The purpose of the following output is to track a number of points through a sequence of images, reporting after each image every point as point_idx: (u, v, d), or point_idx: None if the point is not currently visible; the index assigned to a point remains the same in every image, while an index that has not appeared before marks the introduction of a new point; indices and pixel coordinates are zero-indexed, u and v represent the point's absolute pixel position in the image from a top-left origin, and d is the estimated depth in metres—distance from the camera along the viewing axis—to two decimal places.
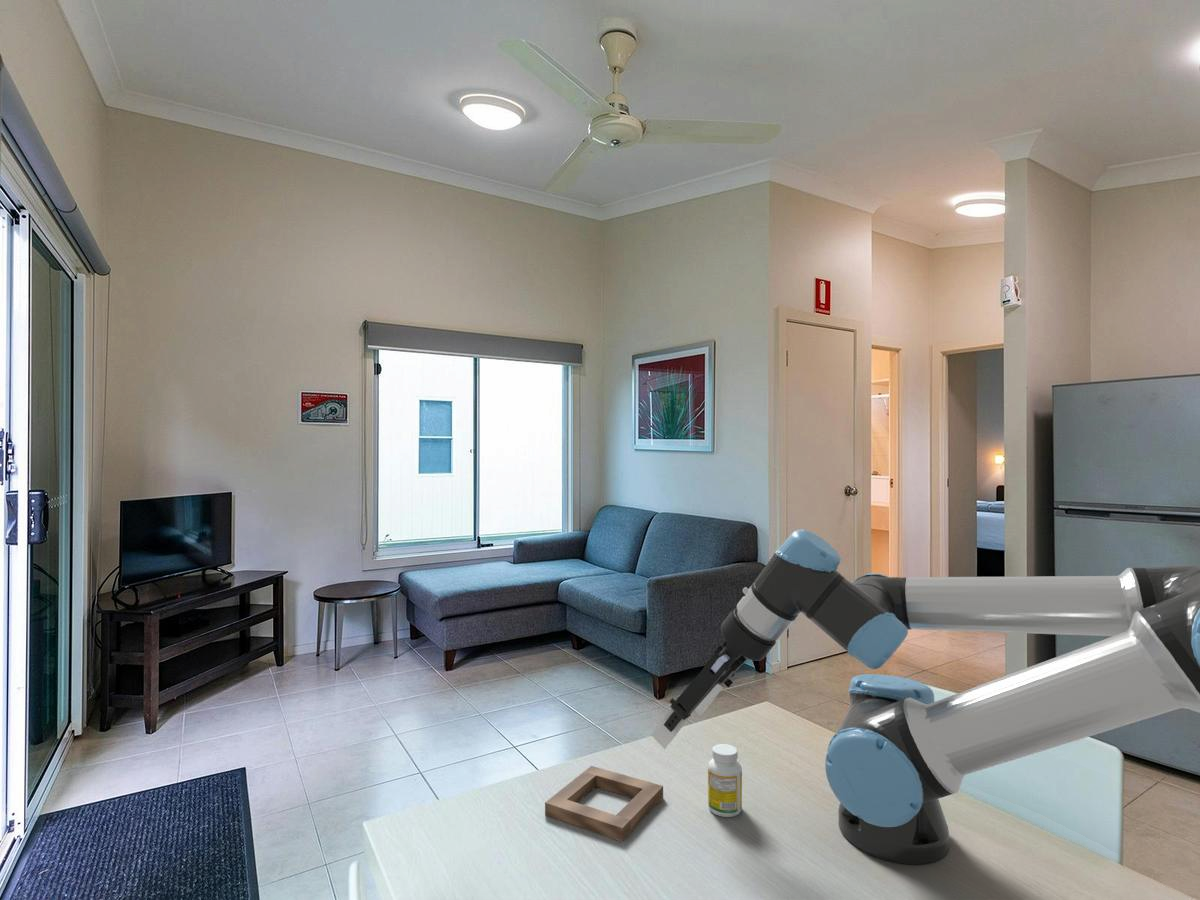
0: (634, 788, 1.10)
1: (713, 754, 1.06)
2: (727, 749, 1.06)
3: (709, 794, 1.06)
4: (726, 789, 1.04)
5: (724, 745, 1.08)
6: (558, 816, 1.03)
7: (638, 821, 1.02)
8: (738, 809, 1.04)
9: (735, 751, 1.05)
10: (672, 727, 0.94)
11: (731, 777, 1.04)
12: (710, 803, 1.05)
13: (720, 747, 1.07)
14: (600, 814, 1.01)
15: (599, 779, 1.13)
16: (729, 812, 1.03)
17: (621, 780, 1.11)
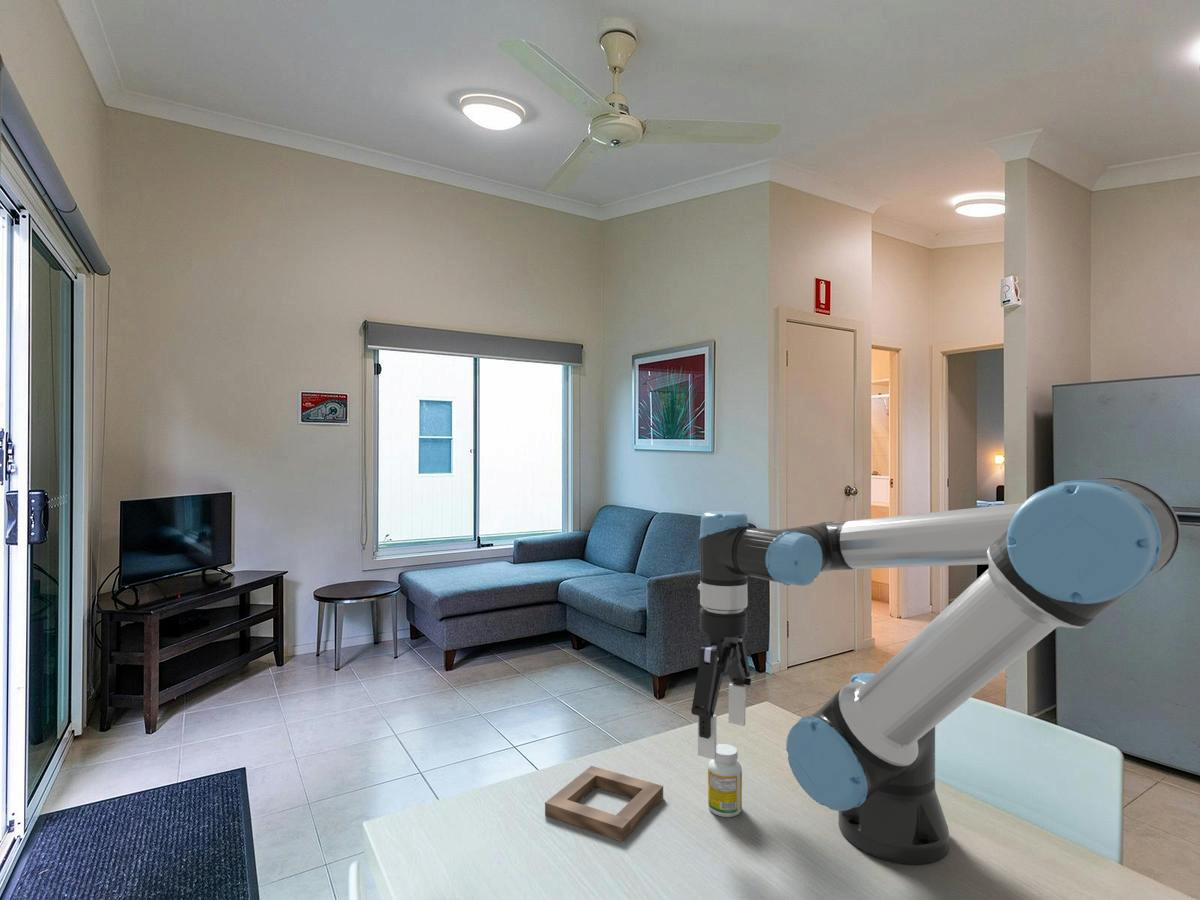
0: (634, 788, 1.10)
1: None
2: (727, 749, 1.06)
3: (709, 794, 1.06)
4: (726, 789, 1.04)
5: (724, 745, 1.08)
6: (558, 816, 1.03)
7: (638, 821, 1.02)
8: (738, 809, 1.04)
9: (735, 751, 1.05)
10: (706, 733, 0.99)
11: (731, 777, 1.04)
12: (710, 803, 1.05)
13: (720, 747, 1.07)
14: (600, 814, 1.01)
15: (599, 779, 1.13)
16: (729, 812, 1.03)
17: (621, 780, 1.11)
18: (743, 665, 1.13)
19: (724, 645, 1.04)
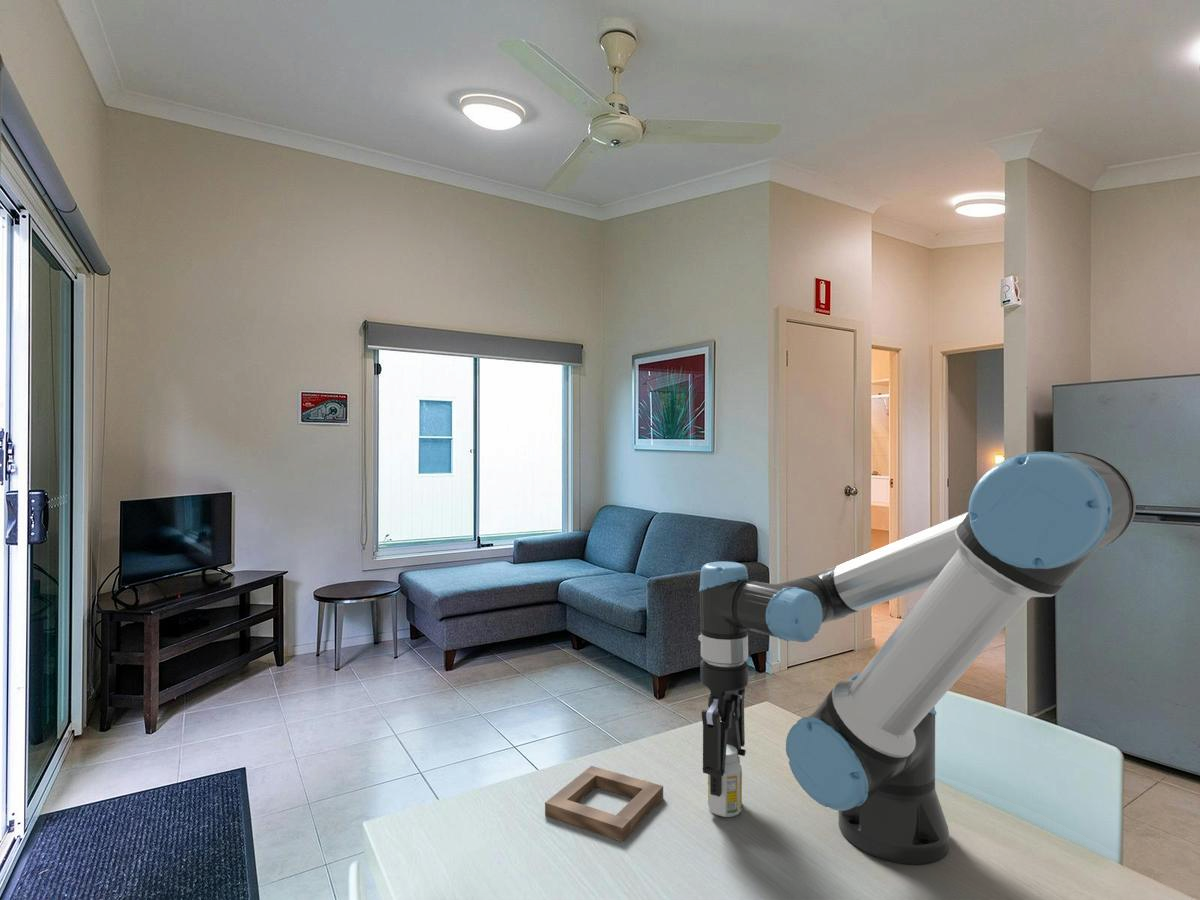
0: (634, 788, 1.10)
1: None
2: (727, 749, 1.06)
3: None
4: None
5: None
6: (558, 816, 1.03)
7: (638, 821, 1.02)
8: (738, 809, 1.04)
9: (735, 751, 1.05)
10: (717, 791, 1.02)
11: (731, 777, 1.04)
12: None
13: None
14: (600, 814, 1.01)
15: (599, 779, 1.13)
16: (729, 812, 1.03)
17: (621, 780, 1.11)
18: (739, 729, 1.10)
19: (724, 697, 1.03)
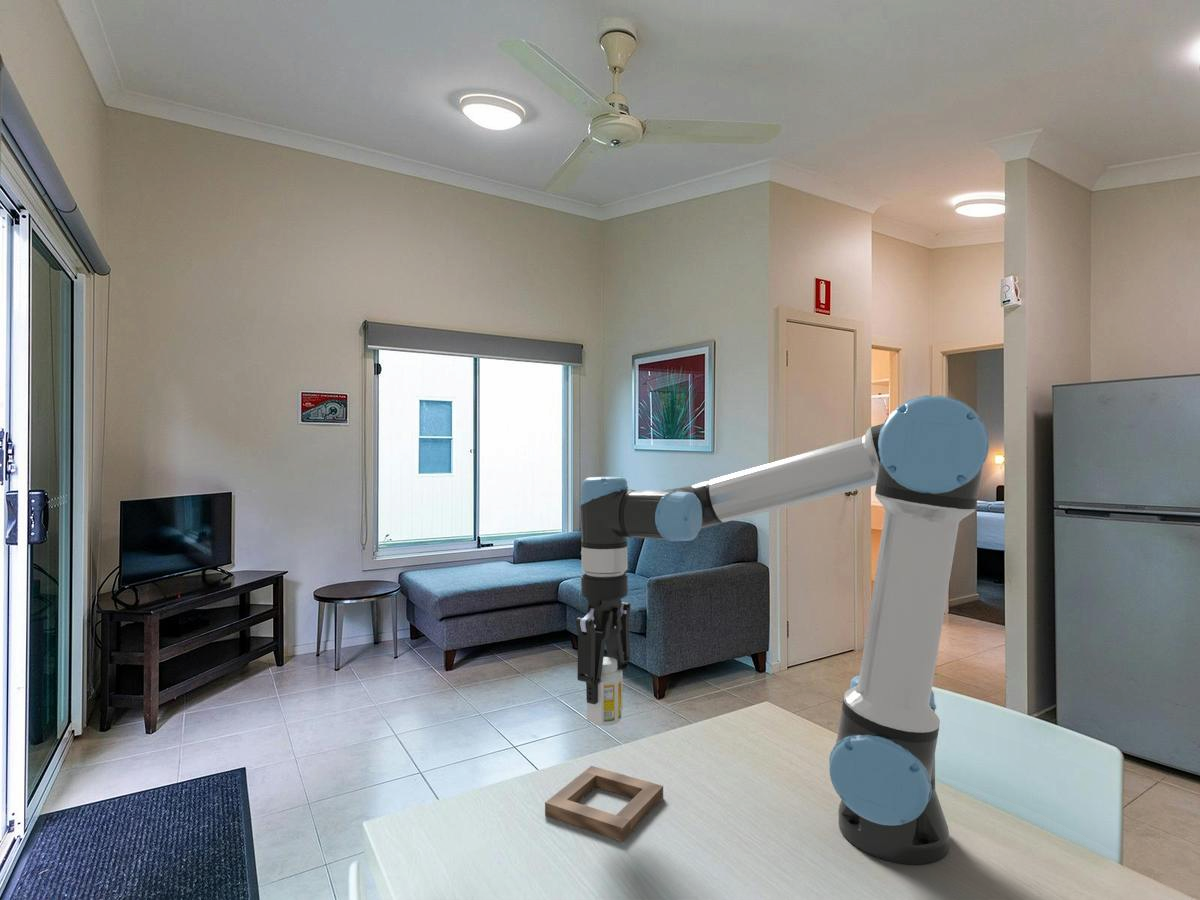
0: (634, 788, 1.10)
1: None
2: (607, 660, 1.07)
3: None
4: None
5: (606, 657, 1.09)
6: (558, 816, 1.03)
7: (638, 821, 1.02)
8: (616, 718, 1.05)
9: (614, 662, 1.06)
10: (593, 699, 1.03)
11: (608, 686, 1.05)
12: None
13: None
14: (600, 814, 1.01)
15: (599, 779, 1.13)
16: (606, 720, 1.04)
17: (621, 780, 1.11)
18: (623, 644, 1.11)
19: (601, 607, 1.04)
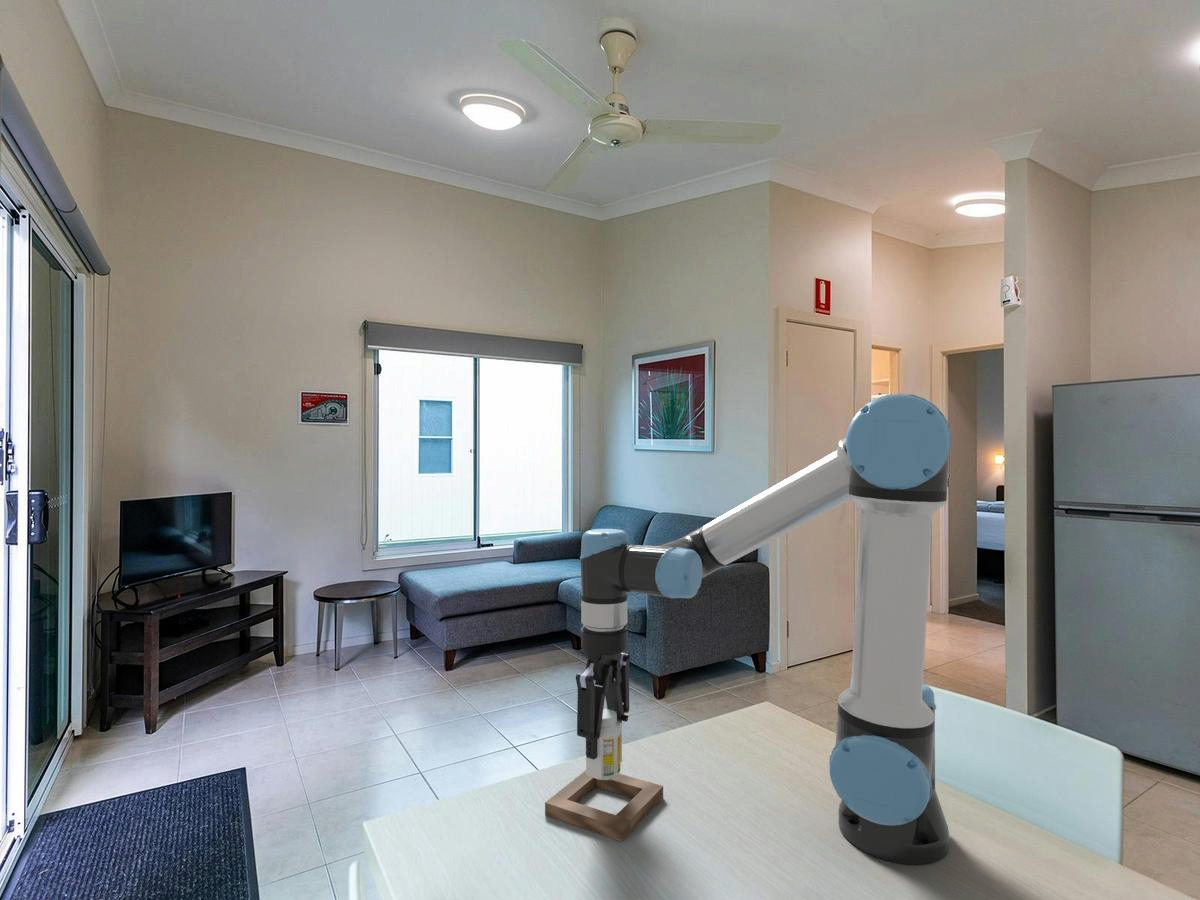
0: (634, 788, 1.10)
1: None
2: (607, 713, 1.07)
3: None
4: None
5: (605, 710, 1.09)
6: (558, 816, 1.03)
7: (638, 821, 1.02)
8: (615, 772, 1.05)
9: (614, 715, 1.06)
10: (592, 754, 1.03)
11: (608, 741, 1.05)
12: None
13: None
14: (600, 814, 1.01)
15: None
16: (605, 775, 1.05)
17: (621, 780, 1.11)
18: (623, 696, 1.11)
19: (601, 662, 1.04)
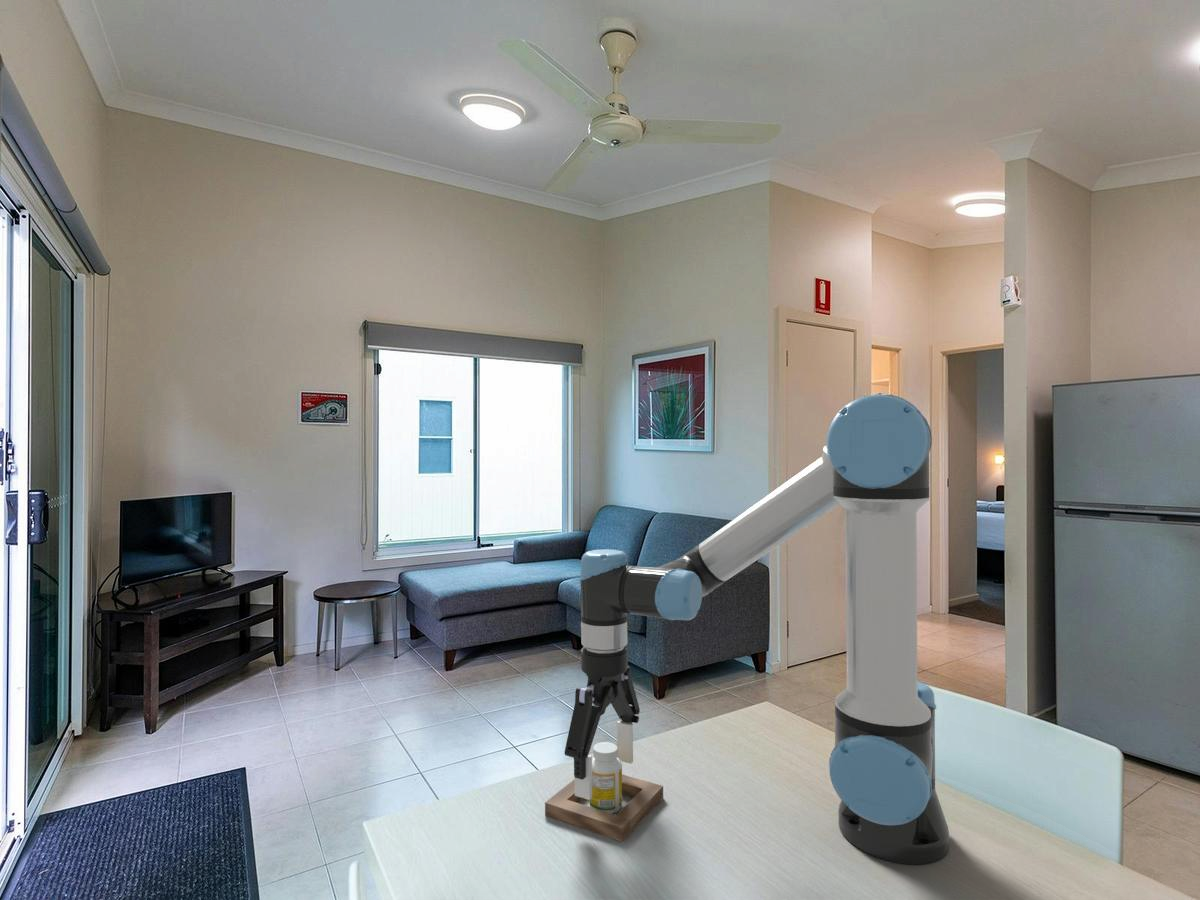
0: (634, 788, 1.10)
1: (593, 752, 1.07)
2: (608, 747, 1.07)
3: None
4: (604, 787, 1.05)
5: (606, 743, 1.09)
6: (558, 816, 1.03)
7: (638, 821, 1.02)
8: (617, 807, 1.05)
9: (615, 749, 1.06)
10: (580, 774, 1.00)
11: (609, 775, 1.05)
12: (590, 801, 1.06)
13: (601, 745, 1.08)
14: (600, 814, 1.01)
15: None
16: (607, 809, 1.05)
17: None
18: (631, 702, 1.13)
19: (602, 684, 1.04)
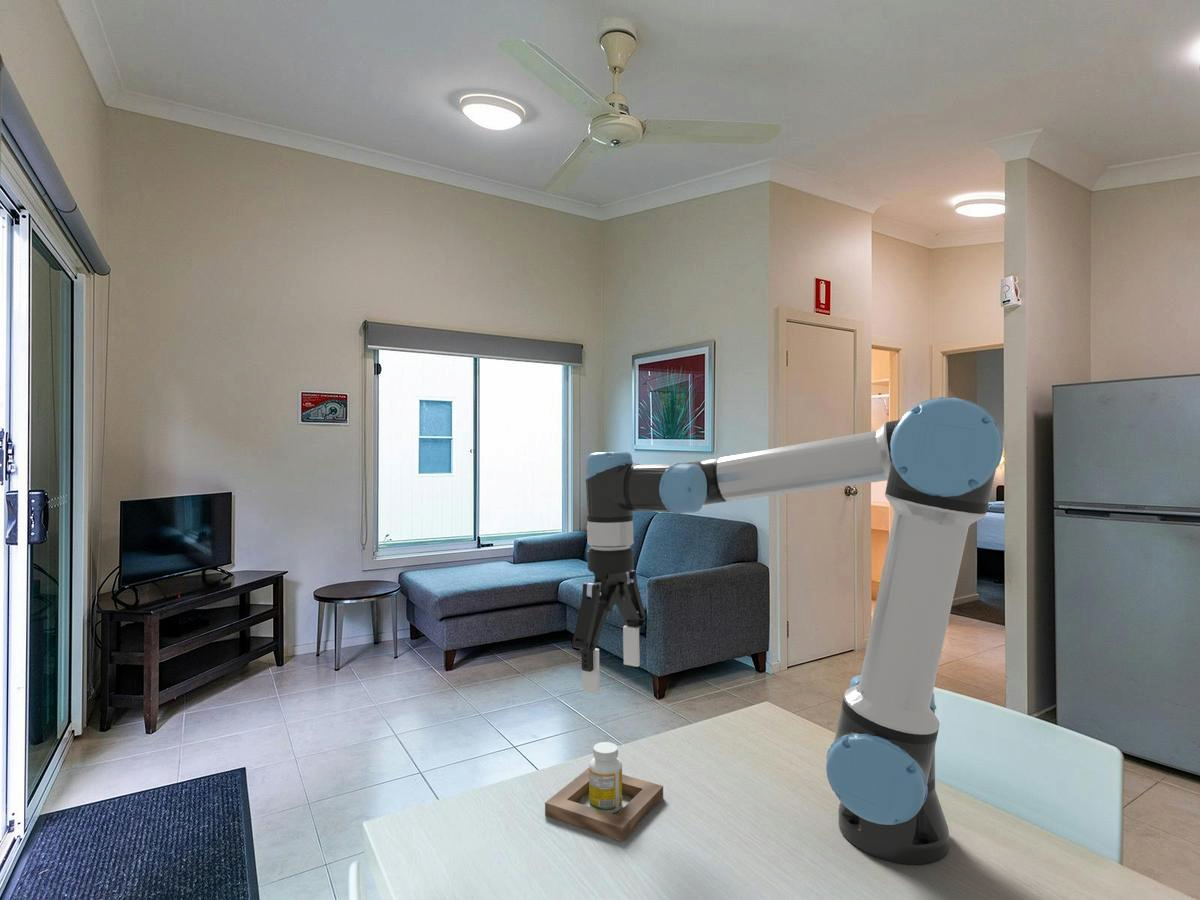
0: (634, 788, 1.10)
1: (593, 752, 1.07)
2: (608, 747, 1.07)
3: (589, 792, 1.07)
4: (604, 787, 1.05)
5: (606, 743, 1.09)
6: (558, 816, 1.03)
7: (638, 821, 1.02)
8: (617, 807, 1.05)
9: (615, 749, 1.06)
10: (588, 666, 1.00)
11: (609, 775, 1.05)
12: (590, 801, 1.06)
13: (602, 745, 1.08)
14: (600, 814, 1.01)
15: None
16: (607, 809, 1.05)
17: None
18: (637, 607, 1.14)
19: (609, 582, 1.05)
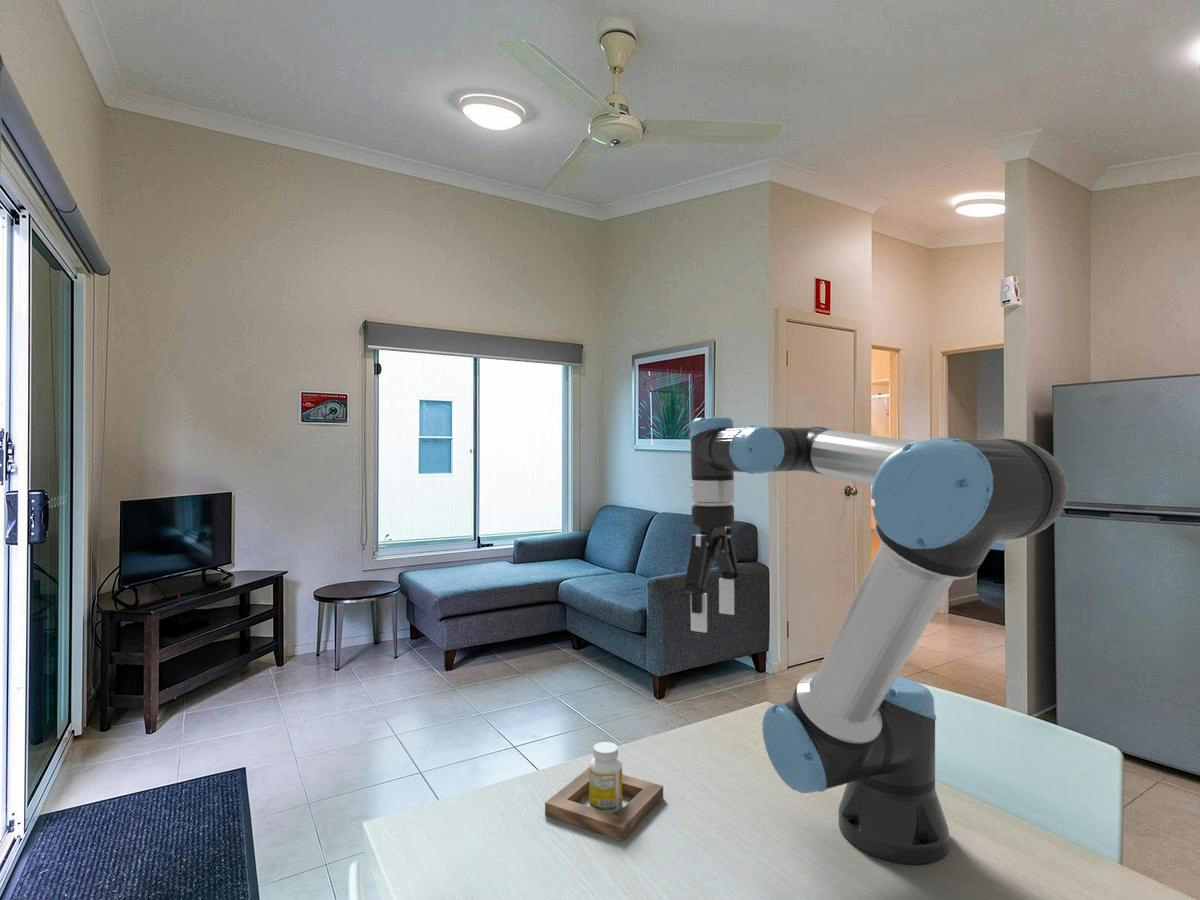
0: (634, 788, 1.10)
1: (593, 752, 1.07)
2: (608, 747, 1.07)
3: (589, 792, 1.07)
4: (604, 787, 1.05)
5: (606, 743, 1.09)
6: (558, 816, 1.03)
7: (638, 821, 1.02)
8: (617, 807, 1.05)
9: (615, 749, 1.07)
10: (698, 608, 1.11)
11: (609, 775, 1.05)
12: (590, 801, 1.06)
13: (602, 745, 1.08)
14: (600, 814, 1.01)
15: None
16: (607, 809, 1.05)
17: None
18: (732, 561, 1.25)
19: (713, 534, 1.16)
